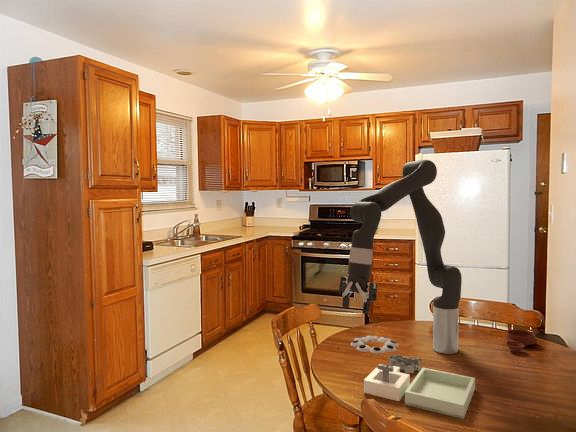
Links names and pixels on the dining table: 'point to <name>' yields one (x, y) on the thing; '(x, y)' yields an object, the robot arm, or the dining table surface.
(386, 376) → the T-head stake
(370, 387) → the cream rectangular frame
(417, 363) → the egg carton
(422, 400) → the tray
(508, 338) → the pottery
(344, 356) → the dining table surface
